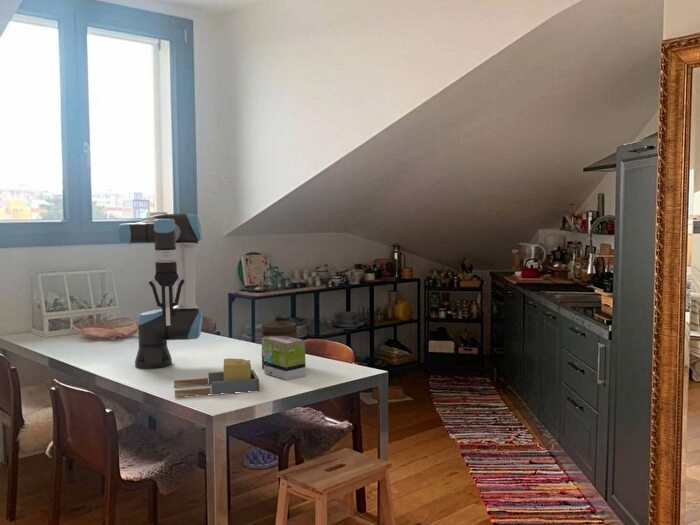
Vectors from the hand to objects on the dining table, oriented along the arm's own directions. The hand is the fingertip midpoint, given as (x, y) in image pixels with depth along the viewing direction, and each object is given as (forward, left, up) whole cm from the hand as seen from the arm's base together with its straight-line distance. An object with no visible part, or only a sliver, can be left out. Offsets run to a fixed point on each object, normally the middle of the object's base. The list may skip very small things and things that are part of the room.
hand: (168, 324), depth 260 cm
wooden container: (-22, +45, -24) cm, 55 cm away
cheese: (+6, +24, -24) cm, 35 cm away
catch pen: (+6, +23, -24) cm, 33 cm away
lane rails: (+6, +8, -24) cm, 26 cm away
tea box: (-8, +44, -24) cm, 51 cm away
